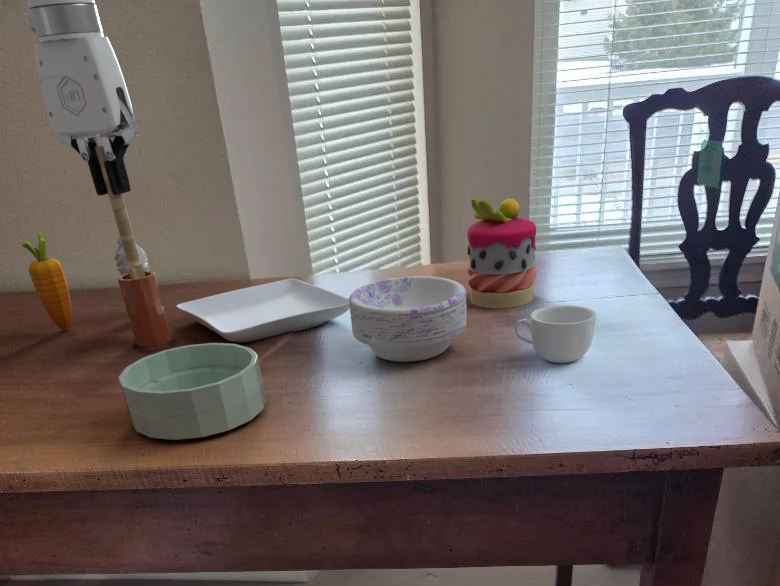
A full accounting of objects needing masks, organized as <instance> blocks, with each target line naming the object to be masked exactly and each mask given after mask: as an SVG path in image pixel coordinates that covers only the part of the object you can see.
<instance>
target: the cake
mask: <svg viewBox="0 0 780 586" xmlns="http://www.w3.org/2000/svg"><path fill="white" fill-rule="evenodd" d="M470 205H471V207H472V209H473V211H475V213H474V214H473V215H474V216H473V217H474V219H477V220H479V221H476V222H474V223H472V224H471V225H469V227H468V228H467V231H466V237H467V241H468V245H467V252H466V253H467V255H468V257H469V268H468V270H467V274H468V275H469V276H470V278H469V280H468V282H467V284H468V286H469V288H470V289H469V290H470V291H469V292H470V303H471V304H472V305H473V306H476V307H479V308H484V309H494V310H495V309H496V310H497V309H510V308H518V307H521V306H525V305H527V304H529V303H531V302H532V301H533V300H534V282H535V279H536V278H537V267H536V265H535V258H536V257H535V255H536V254H535V251H536V250H537V248H536V236H537V225H536V224H535V222H534V221H532V220H529V219H527V218H522V217H519V215H520V212H521V211H520V209H521V208H520V205H519V202H518V201H516V200H515V199H514V198H506V199H505V200H503V201H502V202H501V203H500V204H499V205H498V206H499V207H498V210H494V208H493V206H492V204H491V203H490V202H489V200H487V199H485V198H483V199H480V200H479V199H478V198H477V197H473V198H472V199H471V200H470Z"/></svg>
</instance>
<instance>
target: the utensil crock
mask: <svg viewBox="0 0 780 586" xmlns="http://www.w3.org/2000/svg"><path fill="white" fill-rule="evenodd" d="M144 272H145V276H146V277H143V278H138V279H131V276H130V273H128V274H124V275H122V276H121V275H120V276H118V277H117V281H118V285H119V288H120V293H121V295H122V299H123V302H124V305H125V309H126V313H127V317H128V319H129V323H130V327H131V330H132V334H133V338H134V341H135V344H136V345H137V346H138V347H142V348H151V347H157V346H161V345H165V344H167V343H169V342H170V341H171V340H172V335H171V331H170V327H169V323H168V320H167V315H166V311H165V307H164V303H163V299H162V296H161V291H160V288H159V285H158V280H157V276H156V273H155V271H151V270H149V271H144Z"/></svg>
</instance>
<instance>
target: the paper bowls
mask: <svg viewBox="0 0 780 586" xmlns="http://www.w3.org/2000/svg"><path fill="white" fill-rule="evenodd" d="M466 295H467V290H466V288H465V286H464V285H463V284H461V283H460V282H458V281H455V280H453V279H449V278H445V277H440V276H430V275H429V276H428V275H413V276H412V275H411V276H400V277H398V276H397V277H392V278H385V279H381V280H377V281H374V282H369V283H367V284H364V285H362V286H360V287H358V288H356V289H354V290H353V291H352V292H351V294H350V295H349V298H348V299H349V307H350V308H349V314H350V322H351V323H350V324H351V325H350V326H351V331H352V335H353V337H354V339H356V340H357V341H358V342H360V343H363V344H365V345H368V346H369V348H370V350H371V351H372V352H373V353H374V354H375V356H376V357H379V358H380V359H383V360H385V361H391V362H397V363H398V362H399V363H402V362H403V363H411V362H419V361H420V362H421V361H424V360H429V359H432V358H434V357H437V356H440V355H441V354H442V353H444V352H445V351H446V350H447V349H448V348H449V346H450V345H451V343H452V340H453V338H455V337H456V336H458V335H460V334H461V333H462V332H463V331H464V330H466V327H467V321H468V320H467V297H466Z"/></svg>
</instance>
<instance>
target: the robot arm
mask: <svg viewBox="0 0 780 586" xmlns="http://www.w3.org/2000/svg"><path fill="white" fill-rule="evenodd" d="M26 3H27V6H28V9H29V13H30V16H31V18H29V19H28V26H29V28H30V30H31V31H32V32H33V33H36V36H37V40H38V42H36V43H34V44H33V45H34V56H35V57H34V58H35V63H36V71H37V75H38V81H39V85H40V89H41V94H42V98H43V102H44V106H45V110H46V113H47V117H48V120H49V123H50V126H51V129H52V131H54V133H55V134H57V139H58V141H59V142H60V143H62V144H64V145H66V146H68V147H71V148H73V149H74V150H75V151H76V152H77V153H78V154H79V155H80V158H81V160H82V161H83V162H84V163H87V165H88V168H89V172H90V176H91V180H92V182H93V185H94V189H95V193H96V195H97V196H105V195H108V192H107V189H106V185H105V181H104V178H103V174H102V171H101V167H100V164H99V160H98V157H97V153H96V150H95V147H96V146H101V145H100V142H99V141H100V140H101V144H102V145H103V148H104V152H105V156H106V158H107V159H108V161H104V166H105V170H106V173H107V177H108V180H109V184H110V188H111V191H112V193H113V194H114V195H119V194H125V193H129V192H131V184H130V180H129V175H128V172H127V167H126V165H125V164H126V163H125V160H124V159H125V158H126V157H127V150H128V148H129V146H130V143H132V142H133V141H135V140H137V139H138V138H139V137H140V136H141V131H140V130H139V128H138V125H137V124H136V122H135V115H134V109H133V106H132V101H131V97H130V94H129V90H128V86H127V85H126V81H125V78H124V75H123V72H122V69H121V66H120V64H119V61H118V58H117V56H116V53H115V50H114V48H113V46H112V44H111V41H110V40H109V39H110V38H108V36H105V35H104V32H103V27H102V24H101V20H100V16H99V13H98V12H99V11H98V8H97V5H96V1H95V0H26ZM98 135H99V137H100V140H99V138H98Z"/></svg>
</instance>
